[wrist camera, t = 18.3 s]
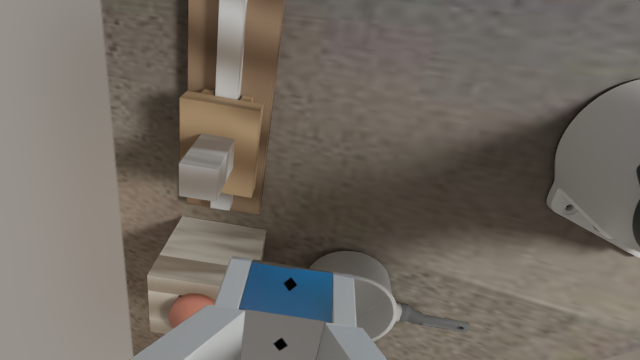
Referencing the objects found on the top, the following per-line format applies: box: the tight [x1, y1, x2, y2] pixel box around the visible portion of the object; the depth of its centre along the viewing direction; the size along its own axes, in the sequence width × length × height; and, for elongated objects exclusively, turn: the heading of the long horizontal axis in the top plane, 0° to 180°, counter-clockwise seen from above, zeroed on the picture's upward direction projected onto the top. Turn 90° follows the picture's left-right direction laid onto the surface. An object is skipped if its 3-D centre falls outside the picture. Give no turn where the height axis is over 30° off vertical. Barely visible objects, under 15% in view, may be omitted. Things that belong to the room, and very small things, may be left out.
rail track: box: [147, 0, 285, 334], centre depth 35 cm, size 50×10×10 cm, turn 170°
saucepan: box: [309, 251, 469, 342], centre depth 49 cm, size 12×20×6 cm, turn 82°
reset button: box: [168, 293, 215, 329], centre depth 42 cm, size 5×5×4 cm
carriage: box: [179, 89, 264, 202], centre depth 36 cm, size 9×7×9 cm
